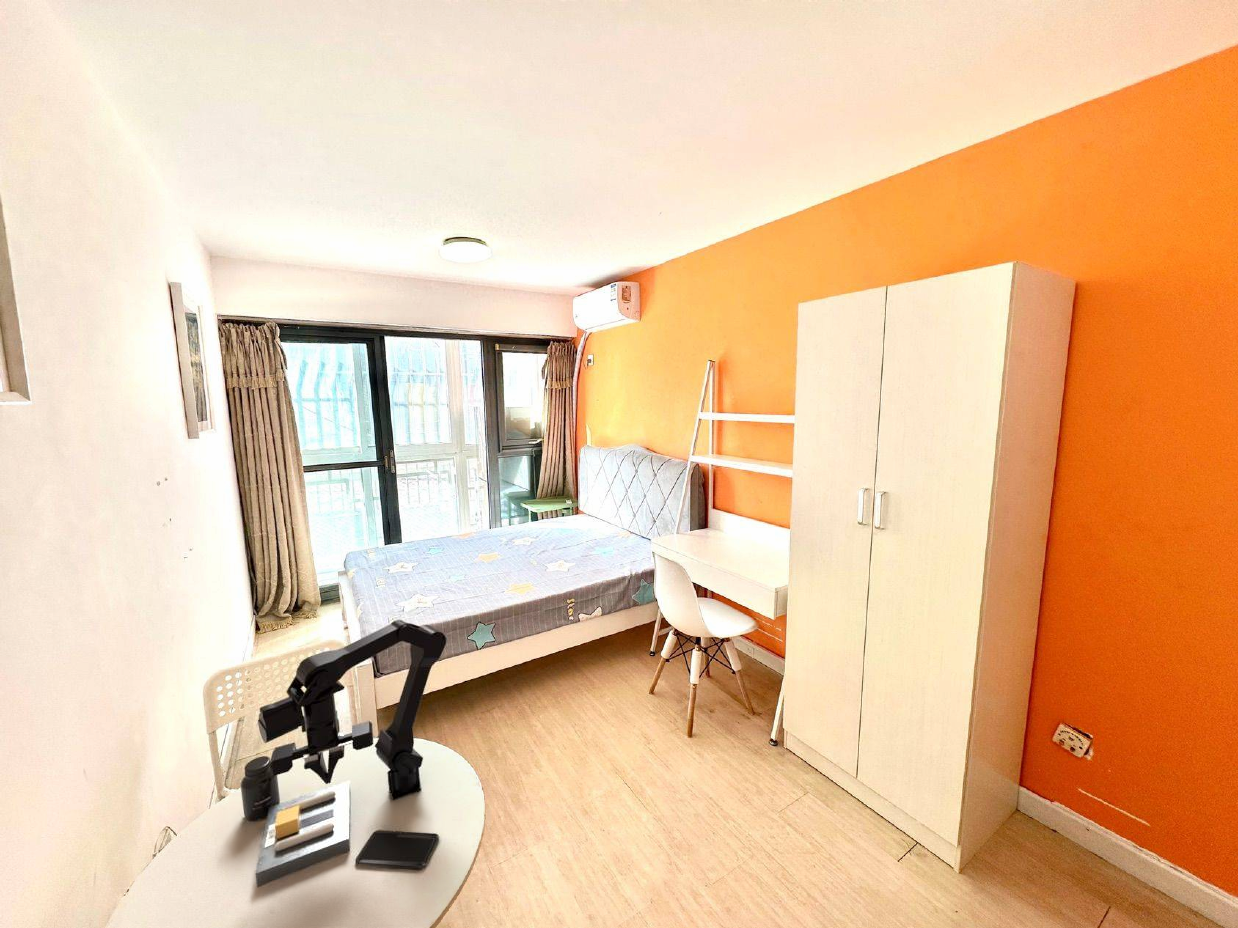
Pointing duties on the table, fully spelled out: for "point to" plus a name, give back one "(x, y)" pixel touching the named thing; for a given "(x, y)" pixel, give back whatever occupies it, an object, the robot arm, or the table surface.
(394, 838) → the phone
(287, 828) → the block
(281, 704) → the robot arm
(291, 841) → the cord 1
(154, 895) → the table surface
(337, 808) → the panel
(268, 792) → the supplement bottle
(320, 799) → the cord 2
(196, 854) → the table surface
